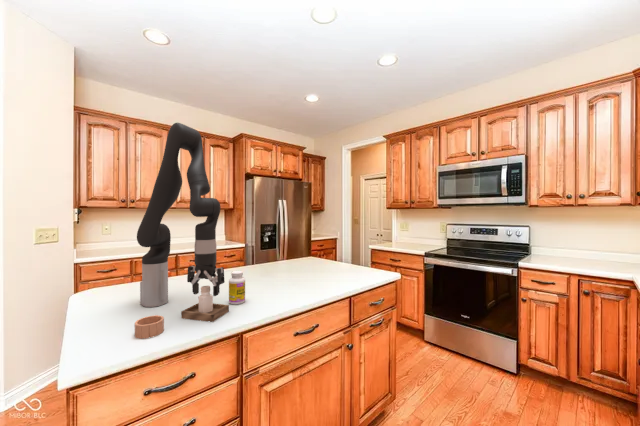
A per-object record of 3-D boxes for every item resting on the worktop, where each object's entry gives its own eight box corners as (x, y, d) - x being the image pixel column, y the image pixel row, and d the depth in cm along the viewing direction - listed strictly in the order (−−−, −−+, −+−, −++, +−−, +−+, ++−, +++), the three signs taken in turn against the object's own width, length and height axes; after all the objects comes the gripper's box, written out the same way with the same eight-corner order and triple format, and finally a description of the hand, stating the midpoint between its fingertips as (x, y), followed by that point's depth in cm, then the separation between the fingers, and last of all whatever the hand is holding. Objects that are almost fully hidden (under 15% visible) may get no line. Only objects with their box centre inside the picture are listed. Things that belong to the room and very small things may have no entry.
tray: (181, 318, 98) (181, 311, 98) (199, 308, 107) (199, 302, 107) (212, 322, 94) (212, 315, 94) (228, 311, 104) (228, 305, 104)
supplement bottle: (236, 306, 110) (236, 274, 110) (225, 303, 113) (225, 272, 113) (248, 301, 116) (248, 271, 115) (237, 298, 119) (237, 269, 119)
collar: (128, 336, 84) (128, 324, 83) (150, 326, 91) (149, 314, 91) (149, 339, 82) (149, 326, 82) (169, 328, 89) (169, 316, 89)
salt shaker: (203, 315, 98) (202, 289, 98) (197, 312, 101) (197, 286, 100) (213, 311, 101) (213, 286, 101) (208, 309, 104) (208, 284, 104)
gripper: (228, 250, 102) (228, 293, 103) (196, 249, 106) (196, 290, 106) (216, 253, 95) (216, 299, 95) (182, 252, 98) (182, 296, 99)
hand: (205, 294), depth 101 cm, fingers open, 8 cm apart
